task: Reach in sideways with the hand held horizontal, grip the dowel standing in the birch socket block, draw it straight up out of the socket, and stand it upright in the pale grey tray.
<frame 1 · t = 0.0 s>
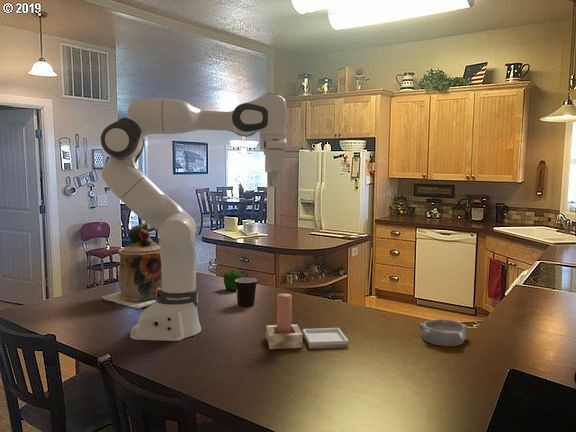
hand: (273, 186, 156), 48 cm above the kitchen counter, tool pointing down, fingers open, 8 cm apart
tray: (324, 340, 149), on the kitchen counter
socket block: (283, 342, 147), on the kitchen counter
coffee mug: (246, 304, 189), on the kitchen counter
cookie jar: (143, 298, 196), on the kitchen counter
dowel: (284, 319, 146), in the socket block
bell pepper: (232, 290, 211), on the kitchen counter
dish: (442, 340, 151), on the kitchen counter
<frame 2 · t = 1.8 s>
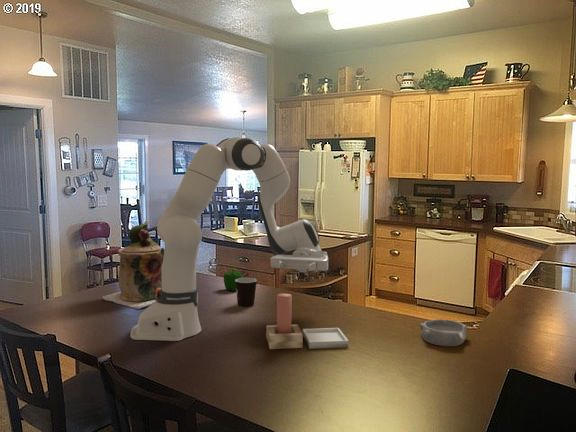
hand: (294, 267, 157), 21 cm above the kitchen counter, tool horizontal, fingers open, 8 cm apart
nothing on the kitchen counter moved.
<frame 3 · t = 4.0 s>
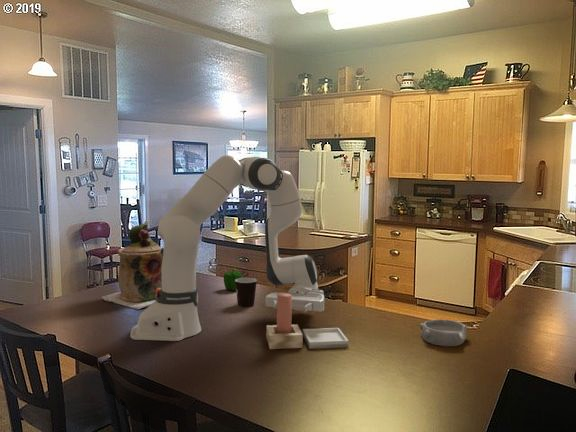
hand: (289, 308, 153), 9 cm above the kitchen counter, tool horizontal, fingers open, 8 cm apart
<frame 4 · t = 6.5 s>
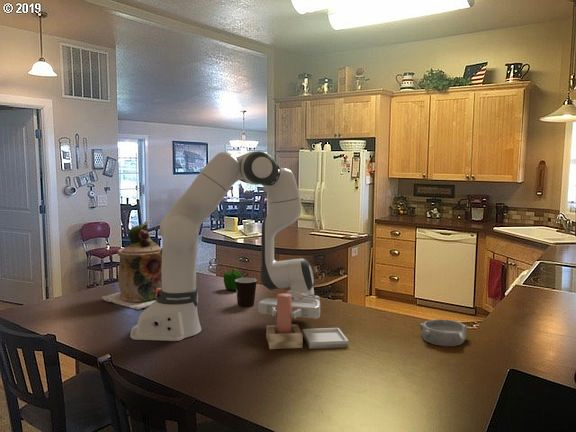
hand: (283, 315, 145), 9 cm above the kitchen counter, tool horizontal, fingers closed on dowel, 4 cm apart
dowel: (284, 319, 146), in the socket block, touching gripper
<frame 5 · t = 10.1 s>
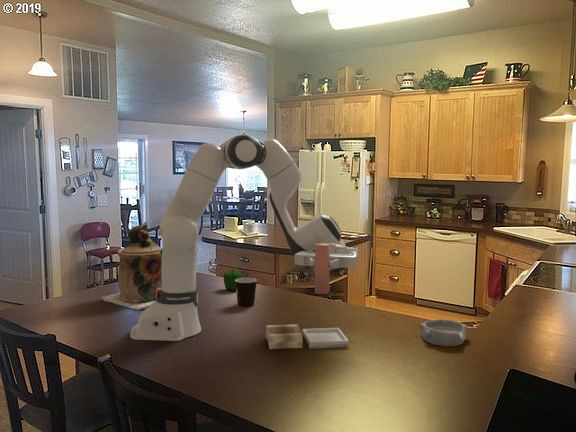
hand: (321, 264, 146), 25 cm above the kitchen counter, tool horizontal, fingers closed on dowel, 4 cm apart
dowel: (322, 268, 147), point 23 cm above the kitchen counter, touching gripper
when the fingers open (11 cm above the kitchen counter, at t = 14.1 s): dowel drops 1 cm, resting on tray.
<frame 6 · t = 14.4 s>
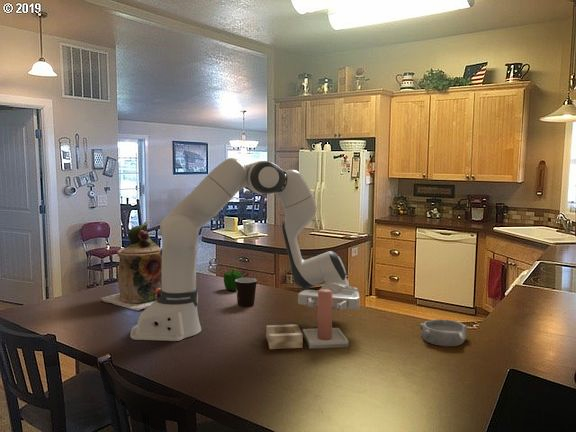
hand: (324, 306, 147), 11 cm above the kitchen counter, tool horizontal, fingers open, 8 cm apart
dowel: (324, 314, 148), in the tray, point 8 cm above the kitchen counter
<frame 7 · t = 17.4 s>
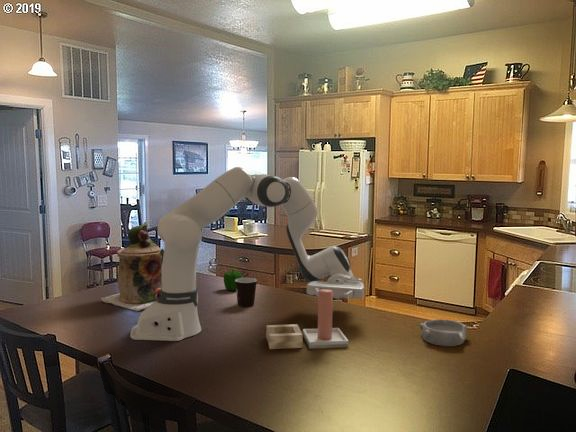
hand: (332, 295, 159), 12 cm above the kitchen counter, tool horizontal, fingers open, 8 cm apart
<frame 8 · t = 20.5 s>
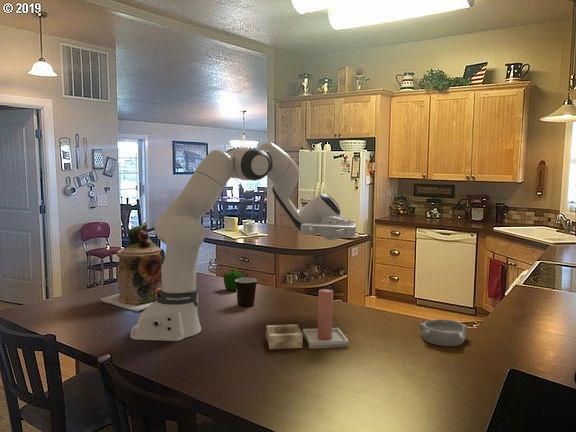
hand: (324, 232, 165), 32 cm above the kitchen counter, tool horizontal, fingers open, 8 cm apart
at the end: dowel inside the target area on the tray (0.0 cm from its centre), point 8.5 cm above the tray's base; dowel tilted 0°; the gripper is holding nothing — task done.
